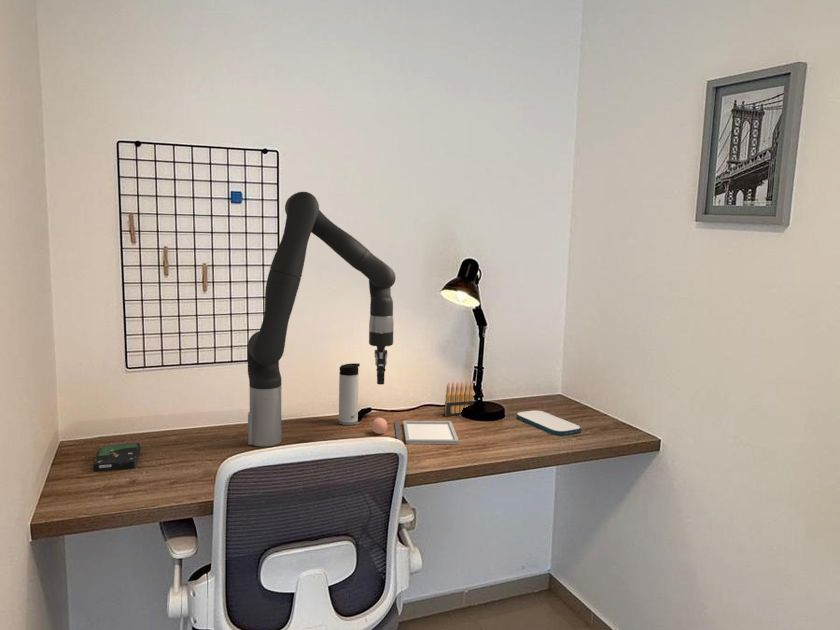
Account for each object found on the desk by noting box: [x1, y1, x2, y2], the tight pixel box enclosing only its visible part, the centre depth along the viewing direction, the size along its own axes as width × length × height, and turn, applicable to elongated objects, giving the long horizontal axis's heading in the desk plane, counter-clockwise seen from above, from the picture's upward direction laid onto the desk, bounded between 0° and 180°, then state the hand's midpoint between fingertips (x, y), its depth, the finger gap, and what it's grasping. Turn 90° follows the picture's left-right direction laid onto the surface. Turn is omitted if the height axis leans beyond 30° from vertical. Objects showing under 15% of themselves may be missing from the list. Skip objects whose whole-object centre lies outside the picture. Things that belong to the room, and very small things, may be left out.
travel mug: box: [338, 362, 361, 426], centre depth 219 cm, size 6×7×20 cm
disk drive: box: [92, 442, 141, 473], centre depth 180 cm, size 10×3×15 cm
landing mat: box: [394, 420, 460, 445], centre depth 211 cm, size 19×22×1 cm
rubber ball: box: [371, 417, 388, 435], centre depth 210 cm, size 5×5×5 cm
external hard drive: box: [516, 409, 582, 437], centre depth 225 cm, size 24×12×2 cm, turn 29°
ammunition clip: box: [443, 381, 475, 418], centre depth 232 cm, size 11×2×12 cm, turn 111°
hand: (380, 380), depth 208 cm, fingers open, 8 cm apart
